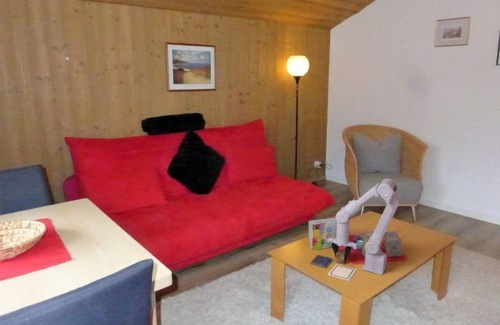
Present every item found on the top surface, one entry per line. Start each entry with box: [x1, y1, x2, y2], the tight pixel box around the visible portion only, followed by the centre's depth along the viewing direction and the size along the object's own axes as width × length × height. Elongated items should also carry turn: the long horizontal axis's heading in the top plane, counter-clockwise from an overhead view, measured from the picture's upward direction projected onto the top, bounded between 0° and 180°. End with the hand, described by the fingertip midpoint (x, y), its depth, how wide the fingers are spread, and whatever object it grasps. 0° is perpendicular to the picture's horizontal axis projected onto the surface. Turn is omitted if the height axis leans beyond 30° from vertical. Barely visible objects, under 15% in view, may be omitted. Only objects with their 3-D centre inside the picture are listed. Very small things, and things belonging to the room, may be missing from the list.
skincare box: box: [361, 230, 375, 257], centre depth 187 cm, size 6×4×12 cm
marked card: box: [327, 263, 357, 282], centre depth 173 cm, size 10×11×1 cm
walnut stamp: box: [335, 248, 347, 265], centre depth 183 cm, size 4×5×5 cm
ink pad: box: [309, 254, 333, 269], centre depth 183 cm, size 8×9×1 cm
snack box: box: [308, 217, 350, 251], centre depth 198 cm, size 21×6×15 cm, turn 104°
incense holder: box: [382, 230, 403, 258], centre depth 189 cm, size 10×8×10 cm
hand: (341, 258), depth 183 cm, fingers open, 4 cm apart
